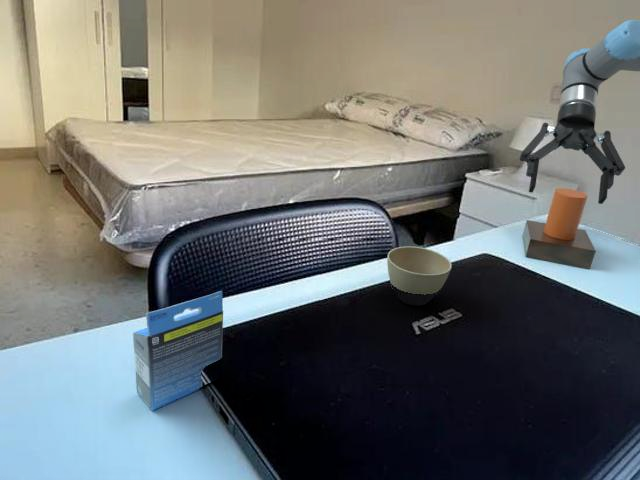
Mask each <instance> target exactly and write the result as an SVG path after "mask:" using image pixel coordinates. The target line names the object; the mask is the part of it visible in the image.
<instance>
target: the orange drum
mask: <svg viewBox="0 0 640 480" xmlns="http://www.w3.org/2000/svg"><path fill="white" fill-rule="evenodd" d="M587 199H588V195H587V194H586V193H584V192H582V191H580V190H577V189H571V188H564V187H563V188H560V187H559V188H555V190H554V192H553V196H552V200H551V202H550V203H551V204H550V207H549V210H548V213H547V217H546V221H545V223H546V224H545V228H544V233H545V234H547V235H549V236H551V237H554V238H557V239H562V240H573V239H574V238H575V236H576V232H577V229H579V225H580V222H581V219H582V215H583V213H584V209H585V208H586V207H585V206H586V203H587Z"/></svg>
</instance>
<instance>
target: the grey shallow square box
mask: <svg viewBox="0 0 640 480" xmlns="http://www.w3.org/2000/svg"><path fill="white" fill-rule="evenodd" d="M545 224H546V222H541V221H536V220H530V219H526V221H525V225H524V228H523V232H522V233H523V234H522V243H523V249H524V256H525V258H530V259H535V260H540V261H546V262H550V263H555V264H559V265H560V264H561V265H566V266H571V267H577V268H581V269H586V270H590V269H591V266H592V265H593V260H594V258H595V255H596V248H595V246H594V244H593V242H592V241H591V238H590V236H589V234H588V233H587V230H585V229H581V228H578V229H577V232H576V236H575V238H574V239H573V240H562V239H557V238H554V237H551V236H549V235H547V234H545V233H544V228H545Z"/></svg>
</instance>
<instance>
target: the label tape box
mask: <svg viewBox="0 0 640 480" xmlns="http://www.w3.org/2000/svg"><path fill="white" fill-rule="evenodd" d="M223 297H224V296H223V290H220V291H217V292H214V293H211V294H208V295H204V296H201V297H198V298H194V299H191V300H186V301H184V302H181V303H177V304H174V305H171V306H167V307H165V308H161V309H157V310H153V311H148V312H146V313H145V319H146V327H145V328H143V329H139V330H136V331H134V332H133V333H132V339H133V353H134V369H135V384H136V393H137V395H138V396H139V397H140V398H141V400H142V401H143V402H144V403H145V405H146V406H147V408H149V410H150V411H155V410H157V409H159V408H162V407H164V406H166V405H168V404H170V403H172V402H174V401H176V399H177V400H178V399H181V398H183V397H186V396H187V395H190V394H192V393H194V392H197V391H198V390H200V389H199V388H200V387H201V371H202V370H203V369H204V368H205V367H206V366H208V365H210V364H212V363H214V362H216V361H218V360H220V359H221V358H223V334H224V333H223V331H224V329H223V328H224V310H223V309H224V308H223ZM186 310H188V311H193V312H189V313H187V314H184V312H185V311H186ZM194 310H195V311H194ZM181 314H184V315H181ZM178 315H180V316H178ZM176 316H178V317H176ZM161 406H162V407H161Z"/></svg>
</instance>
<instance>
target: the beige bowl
mask: <svg viewBox="0 0 640 480" xmlns="http://www.w3.org/2000/svg"><path fill="white" fill-rule="evenodd" d="M386 257H387V260H386V263H387V265H386V266H387V272H388V273H387V274H388V279H389V281H390V285H391V284H392V285H393V286H394V287H396V288H397V289H399V290H401V291H404V292H408V293H412V294H422V295H423V294H424V295H426V294H433V293H436V292H438V291H439V290H440V291H441V289H442V288H443V286H444V285H445V283H446V281H447V279H448V278H449V276H450V273H451V270H452V267H453V265H452V262H451V260H449V258H448V257H446V256H445V255H443V254H442V253H440V252H438V251H435V250H433V249H429V248H426V247H421V246H409V245H407V246H406V245H405V246H399V247H395V248H393V249H391V250H389V252H388V253H387V256H386ZM392 285H391V286H392ZM440 291H439V292H440ZM439 292H438V293H439Z"/></svg>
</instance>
